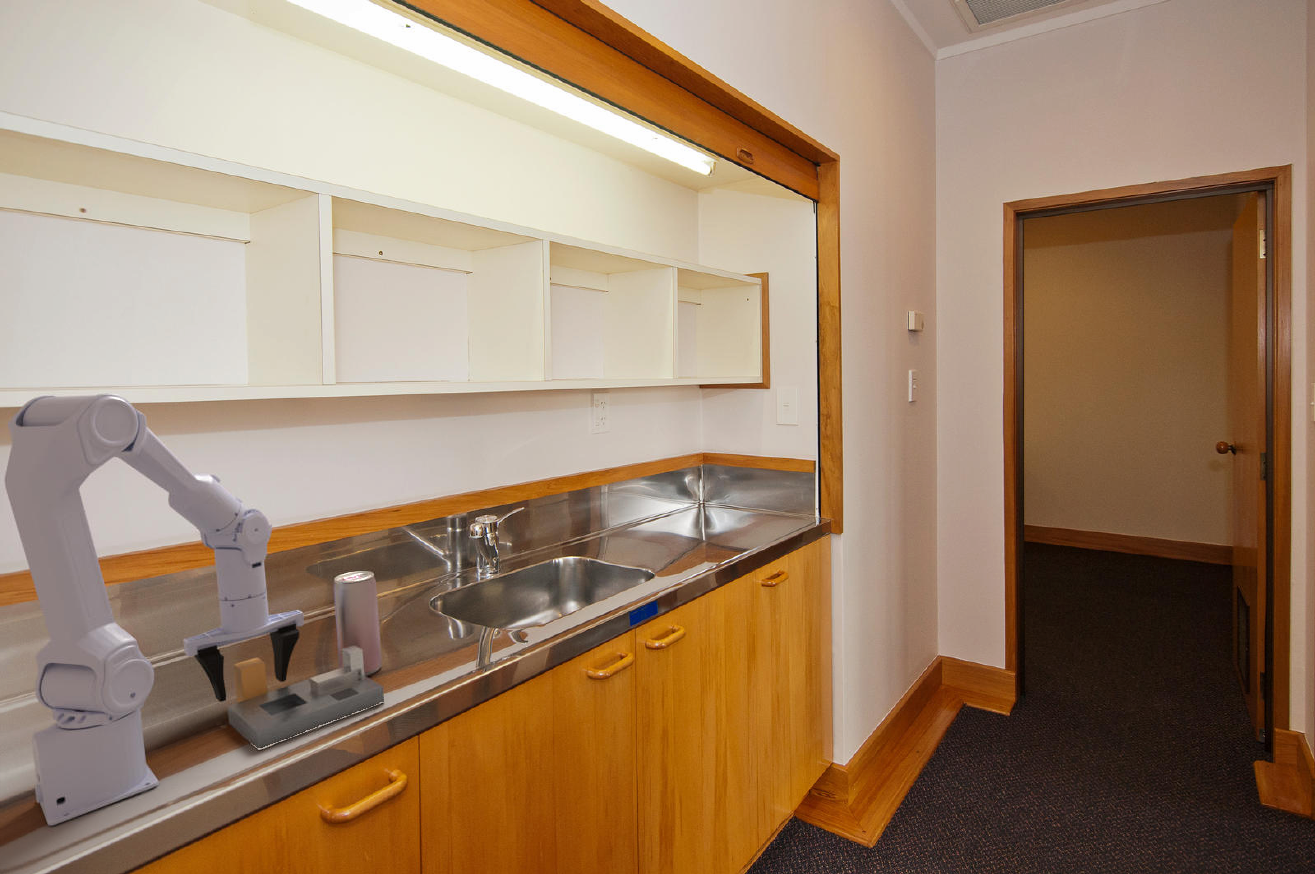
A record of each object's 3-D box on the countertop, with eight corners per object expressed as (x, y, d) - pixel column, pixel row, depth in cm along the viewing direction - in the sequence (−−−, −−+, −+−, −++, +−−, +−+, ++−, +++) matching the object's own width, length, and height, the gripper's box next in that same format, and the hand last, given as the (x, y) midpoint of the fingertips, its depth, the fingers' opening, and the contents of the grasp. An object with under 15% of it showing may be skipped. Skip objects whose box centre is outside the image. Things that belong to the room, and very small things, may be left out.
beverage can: (334, 671, 109) (326, 577, 108) (372, 660, 113) (365, 568, 112) (349, 682, 105) (341, 584, 103) (388, 670, 109) (381, 575, 108)
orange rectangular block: (244, 712, 96) (241, 670, 96) (237, 705, 98) (233, 664, 98) (268, 704, 99) (264, 662, 98) (260, 698, 101) (257, 657, 100)
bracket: (318, 695, 95) (315, 664, 95) (311, 690, 97) (308, 659, 96) (364, 679, 100) (362, 649, 99) (356, 675, 101) (354, 645, 101)
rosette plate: (258, 751, 86) (256, 732, 86) (229, 723, 93) (227, 705, 93) (384, 703, 98) (383, 686, 97) (349, 681, 105) (348, 666, 105)
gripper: (287, 577, 105) (295, 664, 106) (173, 602, 95) (183, 699, 96) (306, 585, 100) (314, 677, 102) (188, 613, 90) (198, 715, 91)
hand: (251, 689), depth 98 cm, fingers open, 7 cm apart
